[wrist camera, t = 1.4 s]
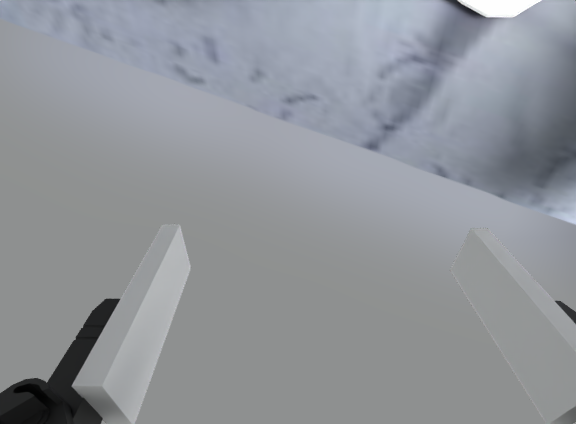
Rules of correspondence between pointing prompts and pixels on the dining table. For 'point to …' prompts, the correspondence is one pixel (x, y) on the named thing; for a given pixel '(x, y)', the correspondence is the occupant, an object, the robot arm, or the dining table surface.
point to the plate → (498, 7)
